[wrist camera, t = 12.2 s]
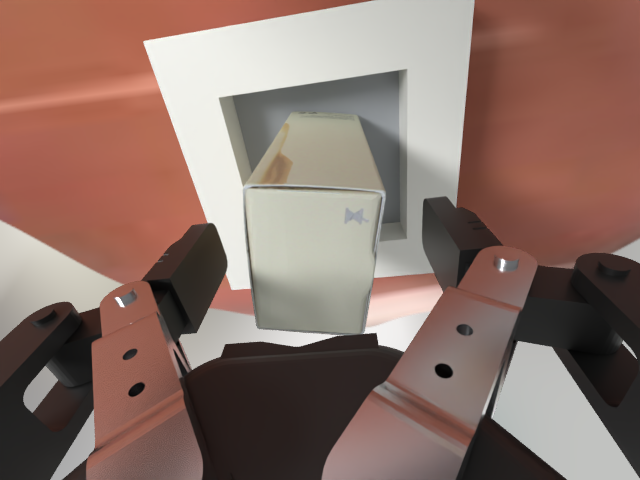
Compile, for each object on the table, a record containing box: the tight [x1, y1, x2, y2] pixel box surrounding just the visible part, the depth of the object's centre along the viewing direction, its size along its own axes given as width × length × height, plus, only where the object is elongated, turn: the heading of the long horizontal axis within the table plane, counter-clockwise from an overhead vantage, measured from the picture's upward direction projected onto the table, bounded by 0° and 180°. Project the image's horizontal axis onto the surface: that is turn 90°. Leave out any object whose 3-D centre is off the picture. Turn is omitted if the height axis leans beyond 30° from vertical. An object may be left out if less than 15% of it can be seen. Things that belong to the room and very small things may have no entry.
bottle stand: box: [143, 0, 475, 290], centre depth 20 cm, size 16×16×4 cm
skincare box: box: [242, 112, 386, 335], centre depth 15 cm, size 6×4×12 cm
